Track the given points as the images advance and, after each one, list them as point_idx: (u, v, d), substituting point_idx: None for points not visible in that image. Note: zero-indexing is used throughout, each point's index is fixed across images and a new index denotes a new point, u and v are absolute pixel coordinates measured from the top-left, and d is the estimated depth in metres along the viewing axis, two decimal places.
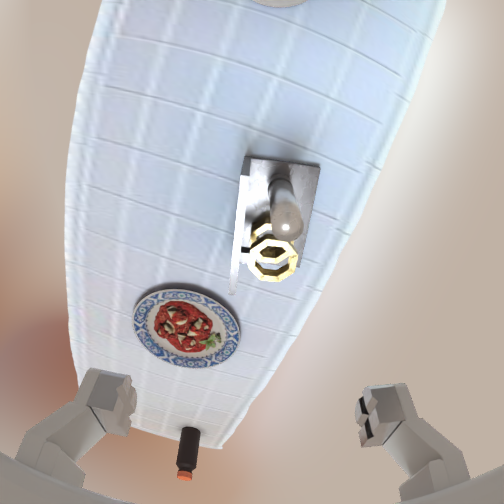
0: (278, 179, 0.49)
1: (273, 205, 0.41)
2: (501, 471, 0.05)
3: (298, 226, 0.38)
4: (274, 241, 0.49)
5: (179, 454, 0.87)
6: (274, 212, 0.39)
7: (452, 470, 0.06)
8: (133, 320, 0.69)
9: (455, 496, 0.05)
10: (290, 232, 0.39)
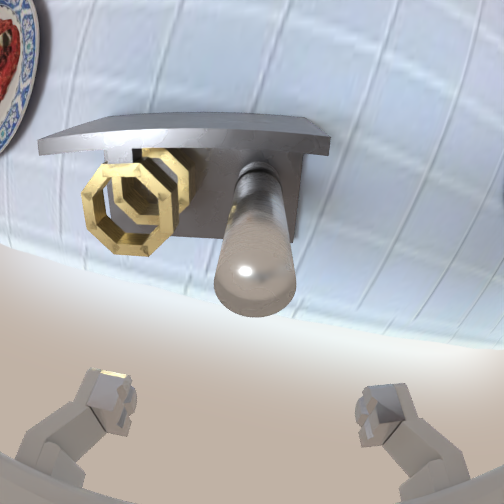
0: (281, 187, 0.27)
1: (275, 219, 0.18)
2: (501, 471, 0.05)
3: (258, 307, 0.16)
4: (169, 210, 0.22)
5: None
6: (277, 239, 0.16)
7: (452, 470, 0.06)
8: None
9: (455, 496, 0.05)
10: (240, 294, 0.16)
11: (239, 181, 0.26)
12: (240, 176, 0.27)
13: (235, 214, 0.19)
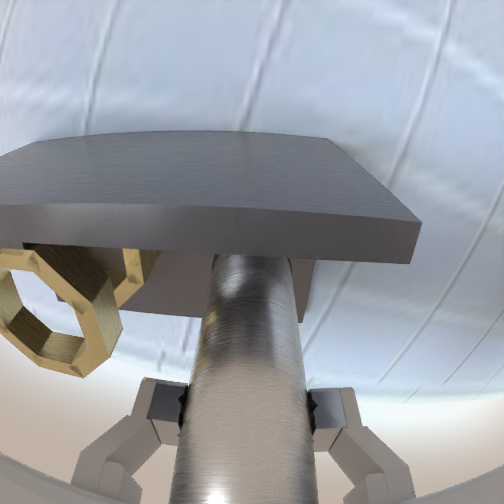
0: (290, 264, 0.16)
1: (286, 413, 0.07)
2: (501, 471, 0.05)
3: None
4: (95, 328, 0.12)
5: None
6: (290, 494, 0.05)
7: (394, 486, 0.06)
8: None
9: (455, 496, 0.05)
10: None
11: (219, 257, 0.15)
12: None
13: (201, 384, 0.09)
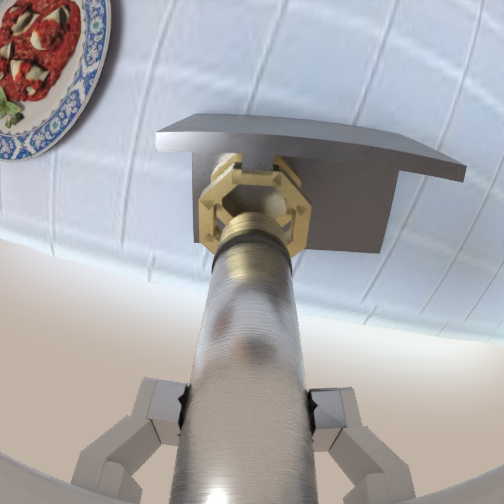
0: (290, 265, 0.16)
1: (286, 414, 0.07)
2: (501, 471, 0.05)
3: None
4: (306, 224, 0.22)
5: None
6: (290, 495, 0.05)
7: (394, 486, 0.06)
8: None
9: (455, 496, 0.05)
10: None
11: (219, 258, 0.15)
12: (221, 247, 0.16)
13: (202, 385, 0.09)
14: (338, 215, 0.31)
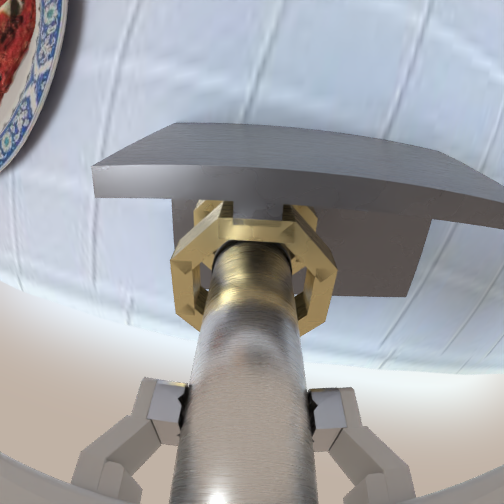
0: (290, 265, 0.16)
1: (286, 414, 0.08)
2: (501, 471, 0.05)
3: None
4: (328, 293, 0.15)
5: None
6: (289, 495, 0.05)
7: (394, 486, 0.06)
8: None
9: (455, 496, 0.05)
10: None
11: (219, 258, 0.15)
12: (221, 247, 0.16)
13: (201, 385, 0.09)
14: (360, 254, 0.24)
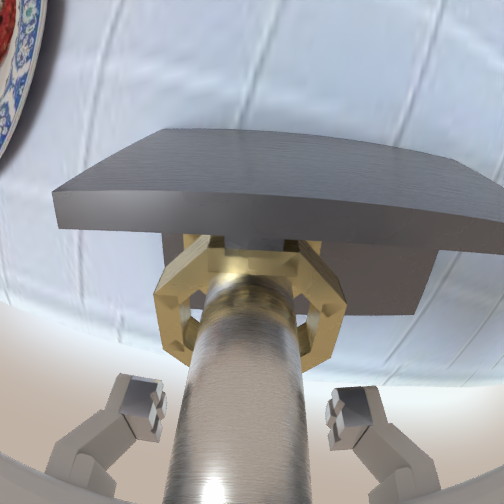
0: None
1: (280, 387, 0.08)
2: (501, 471, 0.05)
3: None
4: (335, 329, 0.13)
5: None
6: (282, 462, 0.06)
7: (421, 480, 0.06)
8: None
9: (455, 496, 0.05)
10: None
11: None
12: None
13: (202, 361, 0.09)
14: (367, 272, 0.22)
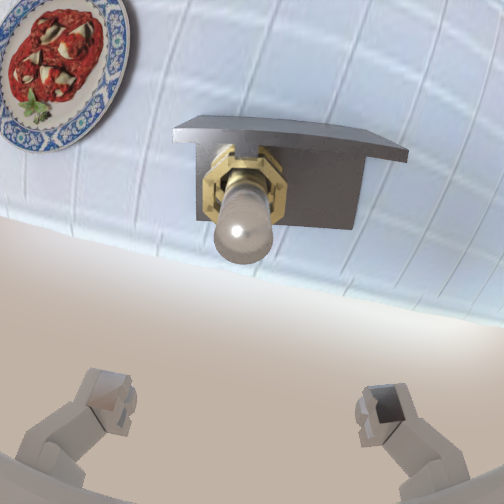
0: (265, 176, 0.33)
1: (258, 195, 0.24)
2: (501, 471, 0.05)
3: (245, 256, 0.22)
4: (283, 197, 0.28)
5: None
6: (259, 206, 0.22)
7: (452, 470, 0.06)
8: None
9: (455, 496, 0.05)
10: (233, 245, 0.22)
11: (231, 171, 0.32)
12: (232, 167, 0.33)
13: (229, 192, 0.25)
14: (314, 196, 0.38)
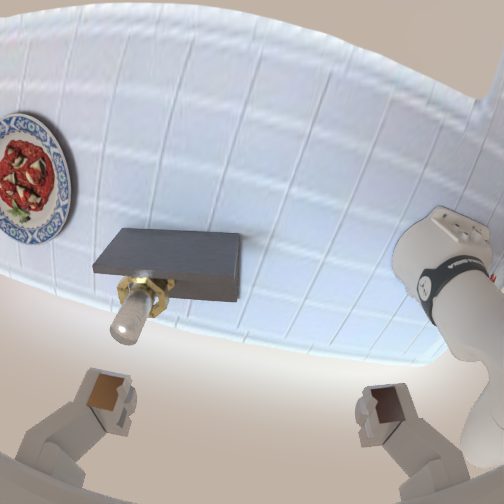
0: None
1: (137, 305, 0.40)
2: (501, 471, 0.05)
3: (127, 341, 0.38)
4: (163, 299, 0.45)
5: None
6: (132, 316, 0.38)
7: (452, 470, 0.06)
8: (15, 116, 0.38)
9: (455, 496, 0.05)
10: (119, 336, 0.38)
11: None
12: None
13: (125, 300, 0.41)
14: (204, 281, 0.54)
